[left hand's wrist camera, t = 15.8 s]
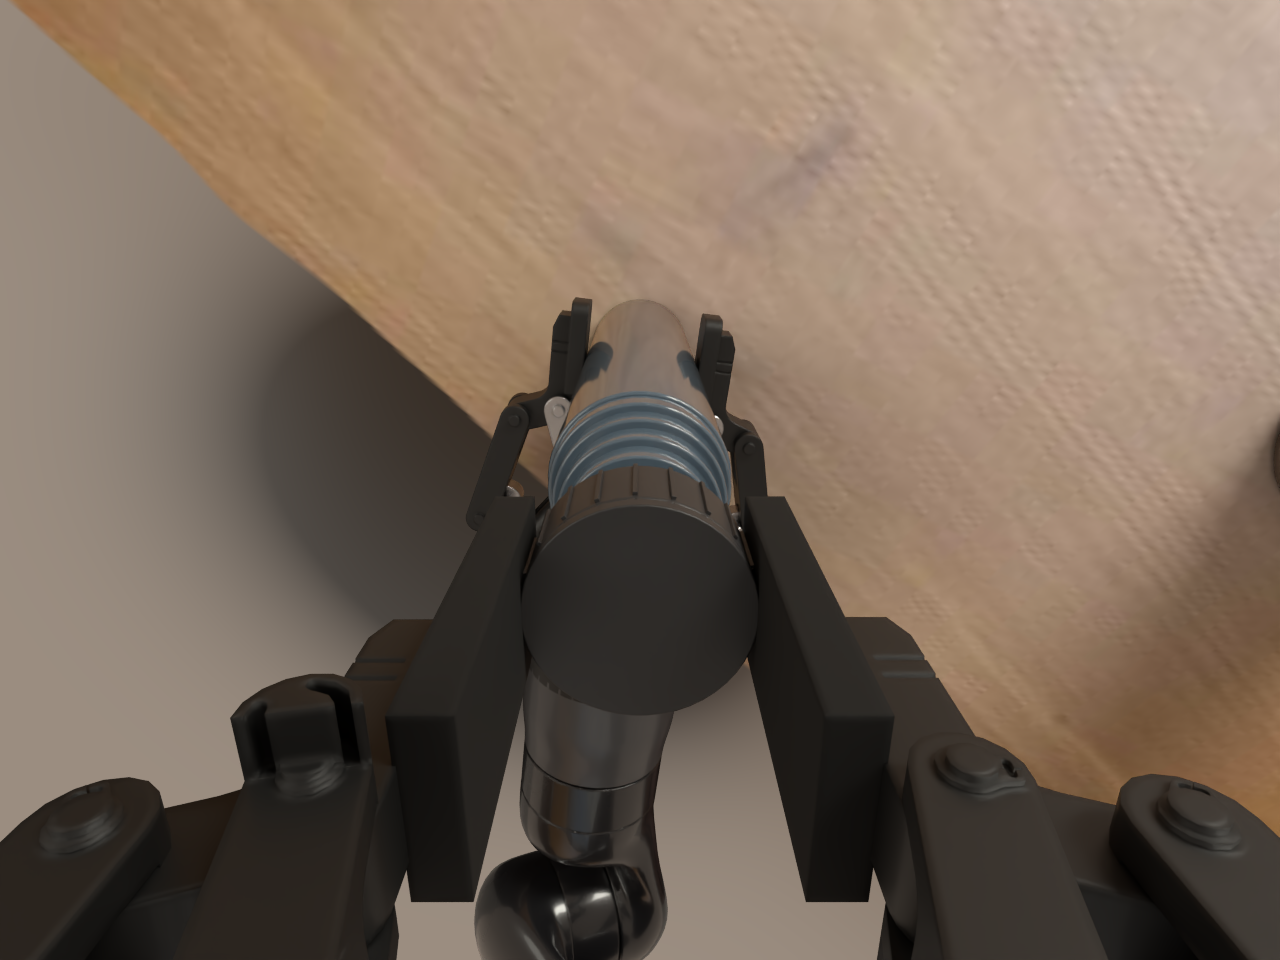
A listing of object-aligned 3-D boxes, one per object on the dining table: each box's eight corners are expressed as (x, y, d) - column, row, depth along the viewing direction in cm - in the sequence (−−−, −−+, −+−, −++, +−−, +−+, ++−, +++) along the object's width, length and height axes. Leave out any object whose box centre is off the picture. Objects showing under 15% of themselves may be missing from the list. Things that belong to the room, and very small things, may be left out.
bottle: (644, 410, 38) (651, 751, 14) (574, 351, 37) (454, 610, 13) (705, 342, 37) (827, 589, 13) (635, 279, 36) (626, 419, 12)
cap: (729, 443, 14) (743, 481, 12) (760, 636, 15) (777, 697, 13) (509, 484, 14) (488, 528, 12) (560, 669, 15) (548, 735, 13)
